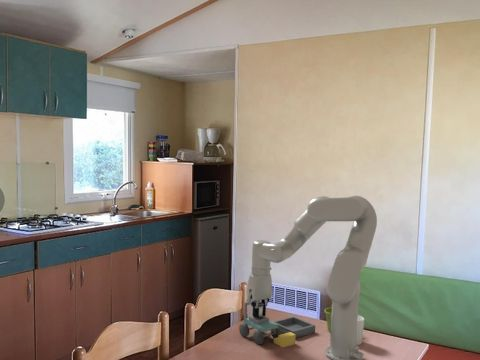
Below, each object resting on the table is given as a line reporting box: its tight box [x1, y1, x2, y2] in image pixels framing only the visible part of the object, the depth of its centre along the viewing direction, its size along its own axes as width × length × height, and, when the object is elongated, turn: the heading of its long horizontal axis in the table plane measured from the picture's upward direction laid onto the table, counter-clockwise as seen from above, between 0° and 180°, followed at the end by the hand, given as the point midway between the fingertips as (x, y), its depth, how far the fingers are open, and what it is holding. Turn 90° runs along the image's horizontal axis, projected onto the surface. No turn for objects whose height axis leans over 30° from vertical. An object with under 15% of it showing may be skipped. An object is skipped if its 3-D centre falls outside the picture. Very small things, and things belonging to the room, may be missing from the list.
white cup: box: [356, 314, 365, 346], centre depth 181 cm, size 8×8×10 cm
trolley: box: [238, 300, 282, 346], centre depth 182 cm, size 14×10×14 cm
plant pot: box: [324, 307, 332, 333], centre depth 192 cm, size 9×9×9 cm
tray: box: [272, 315, 316, 339], centre depth 191 cm, size 13×13×3 cm
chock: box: [273, 332, 297, 348], centre depth 177 cm, size 6×6×4 cm
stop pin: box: [255, 300, 264, 320], centre depth 183 cm, size 4×4×8 cm
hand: (259, 315), depth 183 cm, fingers closed on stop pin, 3 cm apart
